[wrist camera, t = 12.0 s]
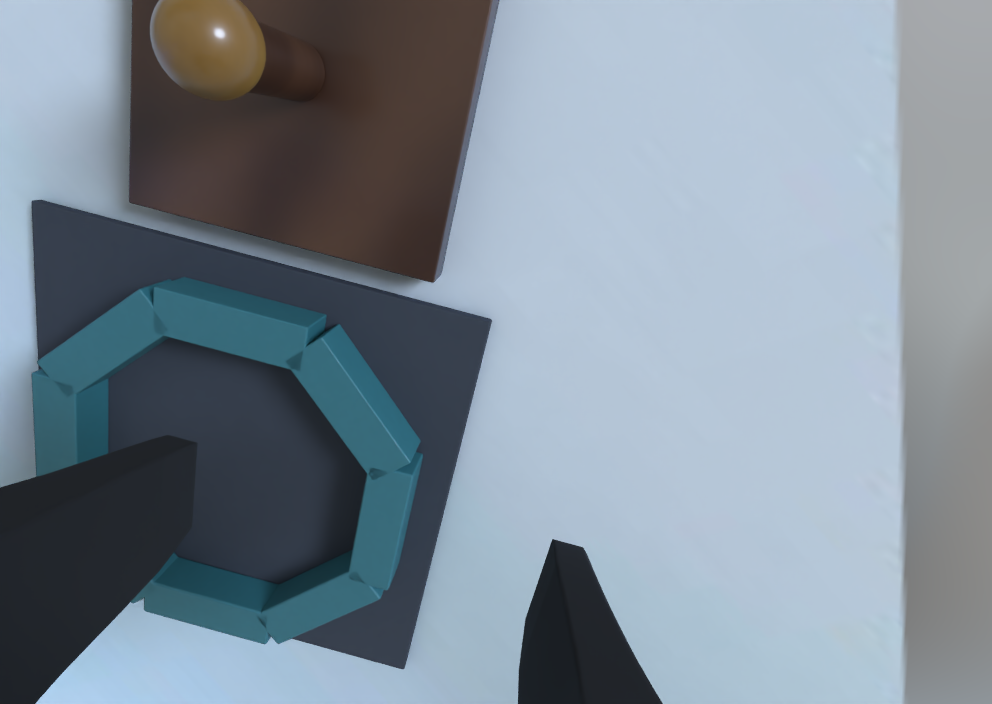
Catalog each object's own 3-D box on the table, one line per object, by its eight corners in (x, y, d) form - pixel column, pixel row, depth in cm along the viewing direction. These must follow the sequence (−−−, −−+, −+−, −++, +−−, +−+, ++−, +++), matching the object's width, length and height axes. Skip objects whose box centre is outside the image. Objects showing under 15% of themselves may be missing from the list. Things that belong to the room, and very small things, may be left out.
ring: (72, 556, 24) (40, 583, 23) (65, 244, 20) (24, 252, 18) (381, 642, 24) (369, 674, 23) (448, 346, 19) (438, 362, 18)
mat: (54, 564, 25) (46, 571, 25) (41, 199, 20) (30, 200, 19) (406, 662, 25) (403, 670, 25) (492, 319, 19) (490, 322, 19)
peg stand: (153, 199, 19) (-45, 223, 13) (164, -164, 16) (-97, -372, 10) (441, 275, 19) (382, 336, 13) (515, -75, 16) (486, -227, 9)
